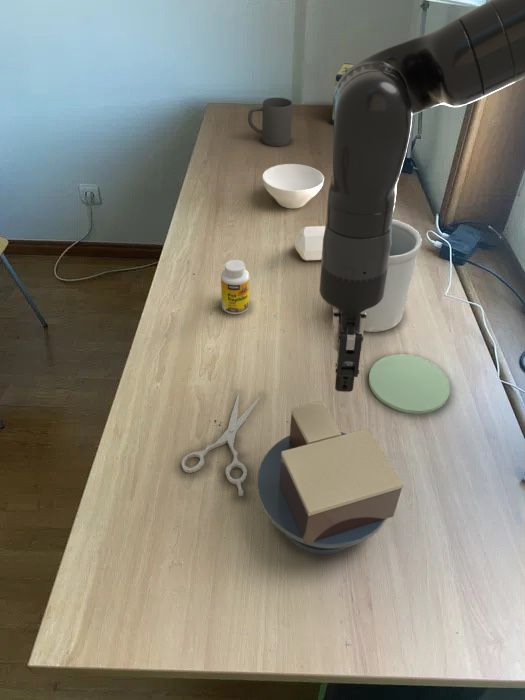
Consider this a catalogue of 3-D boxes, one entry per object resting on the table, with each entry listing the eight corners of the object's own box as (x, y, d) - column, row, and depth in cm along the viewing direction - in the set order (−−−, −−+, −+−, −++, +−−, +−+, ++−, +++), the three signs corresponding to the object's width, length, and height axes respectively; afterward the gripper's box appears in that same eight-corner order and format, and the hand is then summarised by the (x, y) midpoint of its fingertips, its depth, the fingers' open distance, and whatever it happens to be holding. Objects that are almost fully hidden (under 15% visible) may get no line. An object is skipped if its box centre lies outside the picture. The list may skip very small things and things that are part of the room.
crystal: (298, 252, 124) (404, 249, 125) (295, 224, 126) (399, 220, 128) (294, 268, 131) (395, 264, 133) (291, 240, 133) (390, 237, 135)
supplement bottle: (225, 317, 113) (223, 274, 106) (219, 301, 117) (217, 259, 110) (252, 313, 114) (252, 271, 107) (245, 297, 118) (245, 255, 111)
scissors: (174, 475, 83) (221, 383, 97) (175, 478, 84) (221, 386, 98) (242, 494, 81) (280, 397, 95) (242, 497, 82) (280, 400, 96)
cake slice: (318, 434, 80) (322, 400, 76) (335, 467, 76) (341, 433, 71) (288, 442, 79) (291, 408, 75) (304, 475, 75) (308, 442, 70)
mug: (289, 135, 184) (291, 97, 176) (291, 146, 177) (293, 107, 169) (247, 135, 183) (247, 97, 175) (248, 146, 176) (248, 107, 168)
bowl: (330, 212, 145) (332, 187, 141) (270, 219, 142) (271, 193, 138) (311, 185, 157) (313, 161, 152) (255, 191, 154) (255, 166, 149)
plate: (437, 357, 105) (438, 354, 104) (458, 413, 94) (459, 410, 94) (363, 357, 104) (363, 354, 104) (375, 413, 94) (376, 410, 94)
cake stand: (350, 450, 88) (363, 383, 78) (408, 552, 76) (432, 487, 66) (240, 480, 84) (239, 413, 74) (283, 594, 71) (288, 531, 61)
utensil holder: (322, 293, 119) (330, 219, 107) (388, 286, 122) (403, 212, 110) (344, 338, 108) (355, 261, 97) (416, 329, 111) (435, 252, 99)
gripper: (393, 296, 58) (375, 407, 68) (384, 231, 69) (370, 335, 79) (319, 293, 58) (312, 403, 69) (322, 228, 69) (316, 332, 80)
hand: (343, 367), depth 74 cm, fingers open, 8 cm apart
